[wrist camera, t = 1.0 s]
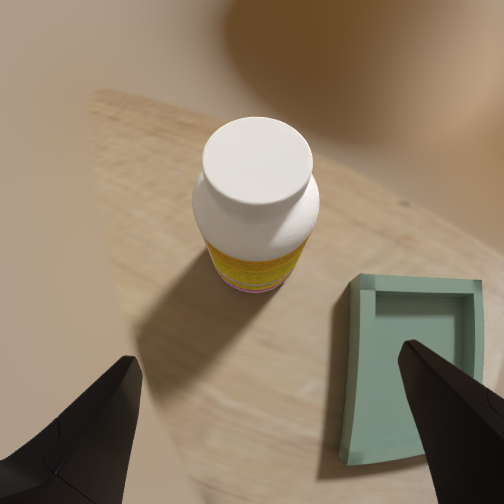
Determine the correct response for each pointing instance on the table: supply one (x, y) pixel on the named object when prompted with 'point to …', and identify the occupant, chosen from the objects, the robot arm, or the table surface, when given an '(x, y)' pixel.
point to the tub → (387, 351)
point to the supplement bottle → (255, 201)
